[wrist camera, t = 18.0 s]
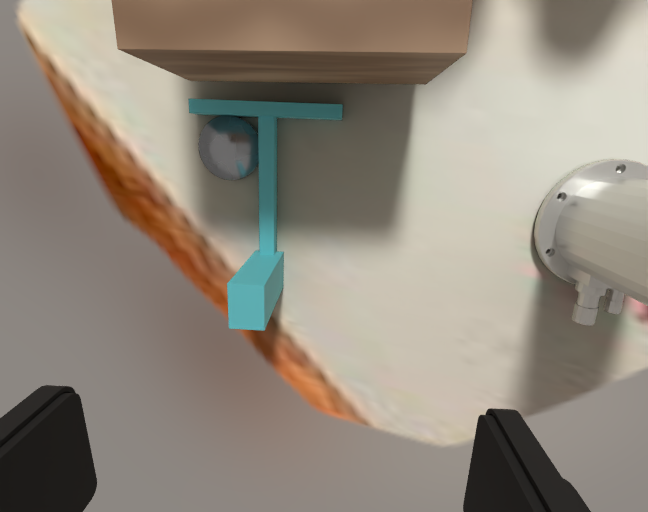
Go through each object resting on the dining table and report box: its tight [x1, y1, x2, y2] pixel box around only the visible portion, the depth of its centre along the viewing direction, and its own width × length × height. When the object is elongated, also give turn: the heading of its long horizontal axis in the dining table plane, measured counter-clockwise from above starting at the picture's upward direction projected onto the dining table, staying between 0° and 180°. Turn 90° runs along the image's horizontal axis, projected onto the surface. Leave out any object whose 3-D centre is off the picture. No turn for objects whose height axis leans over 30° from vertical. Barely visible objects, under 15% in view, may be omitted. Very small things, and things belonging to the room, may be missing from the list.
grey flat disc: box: [199, 116, 259, 180], centre depth 36 cm, size 6×6×1 cm
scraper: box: [189, 99, 343, 331], centre depth 33 cm, size 19×14×10 cm
